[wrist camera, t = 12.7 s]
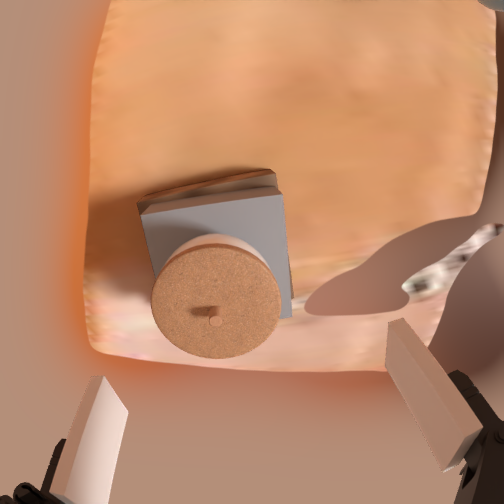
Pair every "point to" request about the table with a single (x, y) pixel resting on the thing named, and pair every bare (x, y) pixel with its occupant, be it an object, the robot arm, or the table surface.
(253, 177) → the tower base
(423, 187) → the table surface
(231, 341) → the lidded jar
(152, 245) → the grey square slab
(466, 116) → the table surface
